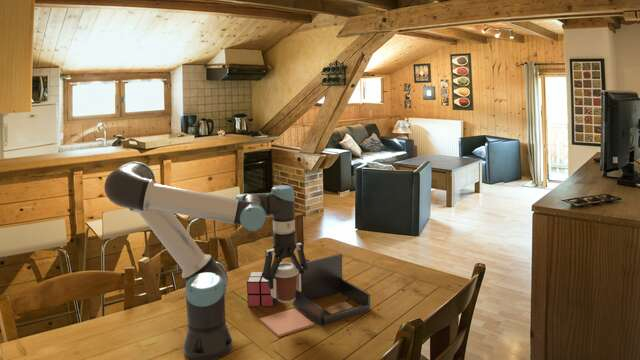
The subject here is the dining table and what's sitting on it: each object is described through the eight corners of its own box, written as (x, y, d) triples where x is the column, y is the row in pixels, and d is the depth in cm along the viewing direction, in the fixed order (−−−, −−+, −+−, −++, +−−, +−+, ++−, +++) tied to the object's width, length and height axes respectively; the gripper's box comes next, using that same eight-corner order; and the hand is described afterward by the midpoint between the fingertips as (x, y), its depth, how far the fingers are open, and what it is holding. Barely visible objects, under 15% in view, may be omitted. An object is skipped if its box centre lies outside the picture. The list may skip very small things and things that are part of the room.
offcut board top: (330, 317, 176) (330, 313, 175) (323, 311, 180) (323, 308, 179) (353, 309, 181) (353, 306, 181) (345, 304, 185) (345, 301, 185)
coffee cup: (304, 296, 174) (303, 264, 172) (289, 306, 167) (288, 273, 164) (283, 291, 179) (282, 259, 176) (267, 300, 171) (266, 267, 169)
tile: (278, 337, 165) (278, 334, 165) (259, 320, 177) (259, 318, 176) (314, 325, 172) (314, 323, 172) (294, 310, 184) (293, 308, 184)
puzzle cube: (274, 306, 187) (273, 281, 185) (247, 306, 188) (246, 281, 186) (276, 295, 197) (276, 271, 195) (251, 295, 197) (250, 271, 195)
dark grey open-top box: (321, 326, 172) (321, 283, 169) (293, 305, 188) (292, 265, 185) (371, 310, 183) (372, 269, 180) (340, 291, 200) (340, 253, 197)
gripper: (259, 240, 159) (262, 305, 163) (317, 228, 171) (318, 289, 175) (250, 234, 165) (252, 297, 170) (306, 223, 177) (307, 282, 181)
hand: (286, 293), depth 172 cm, fingers closed on coffee cup, 9 cm apart
